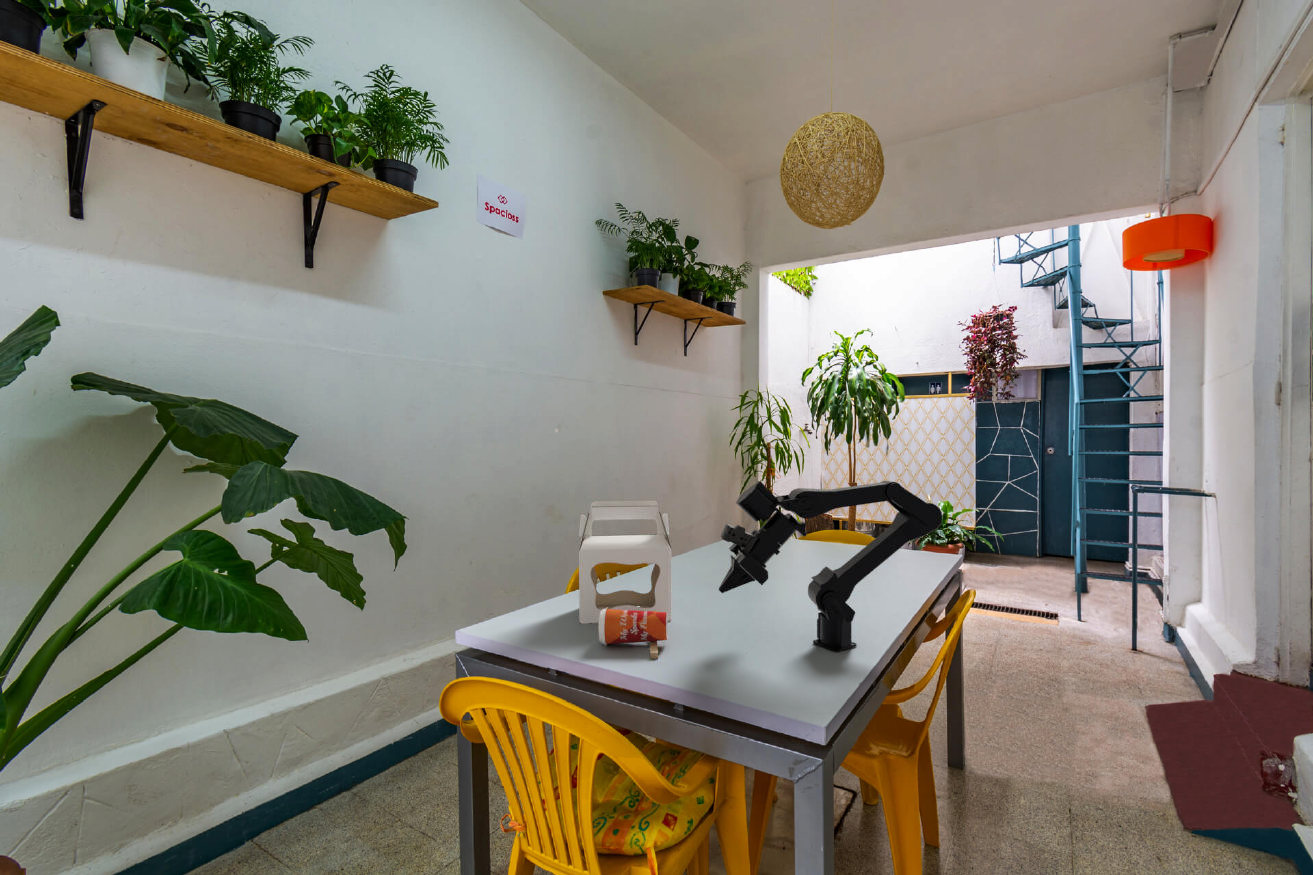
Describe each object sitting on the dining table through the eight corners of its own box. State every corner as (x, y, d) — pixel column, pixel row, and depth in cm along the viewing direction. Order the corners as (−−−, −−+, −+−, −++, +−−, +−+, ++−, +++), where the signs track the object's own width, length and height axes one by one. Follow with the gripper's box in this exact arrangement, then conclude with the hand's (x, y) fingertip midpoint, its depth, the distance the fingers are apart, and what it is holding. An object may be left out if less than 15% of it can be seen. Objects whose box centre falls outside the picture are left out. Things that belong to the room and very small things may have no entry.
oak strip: (649, 637, 131) (649, 632, 131) (656, 637, 131) (656, 632, 131) (650, 658, 119) (650, 652, 119) (657, 658, 119) (657, 652, 119)
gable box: (578, 624, 140) (577, 504, 140) (580, 607, 153) (579, 498, 153) (672, 621, 142) (672, 503, 142) (666, 605, 155) (666, 497, 155)
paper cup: (665, 640, 120) (596, 641, 121) (668, 648, 127) (602, 649, 128) (666, 602, 124) (599, 602, 125) (668, 611, 131) (604, 612, 132)
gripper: (737, 505, 135) (690, 556, 135) (749, 515, 116) (694, 573, 116) (774, 540, 135) (726, 590, 134) (791, 554, 116) (736, 613, 116)
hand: (720, 591), depth 125 cm, fingers closed
